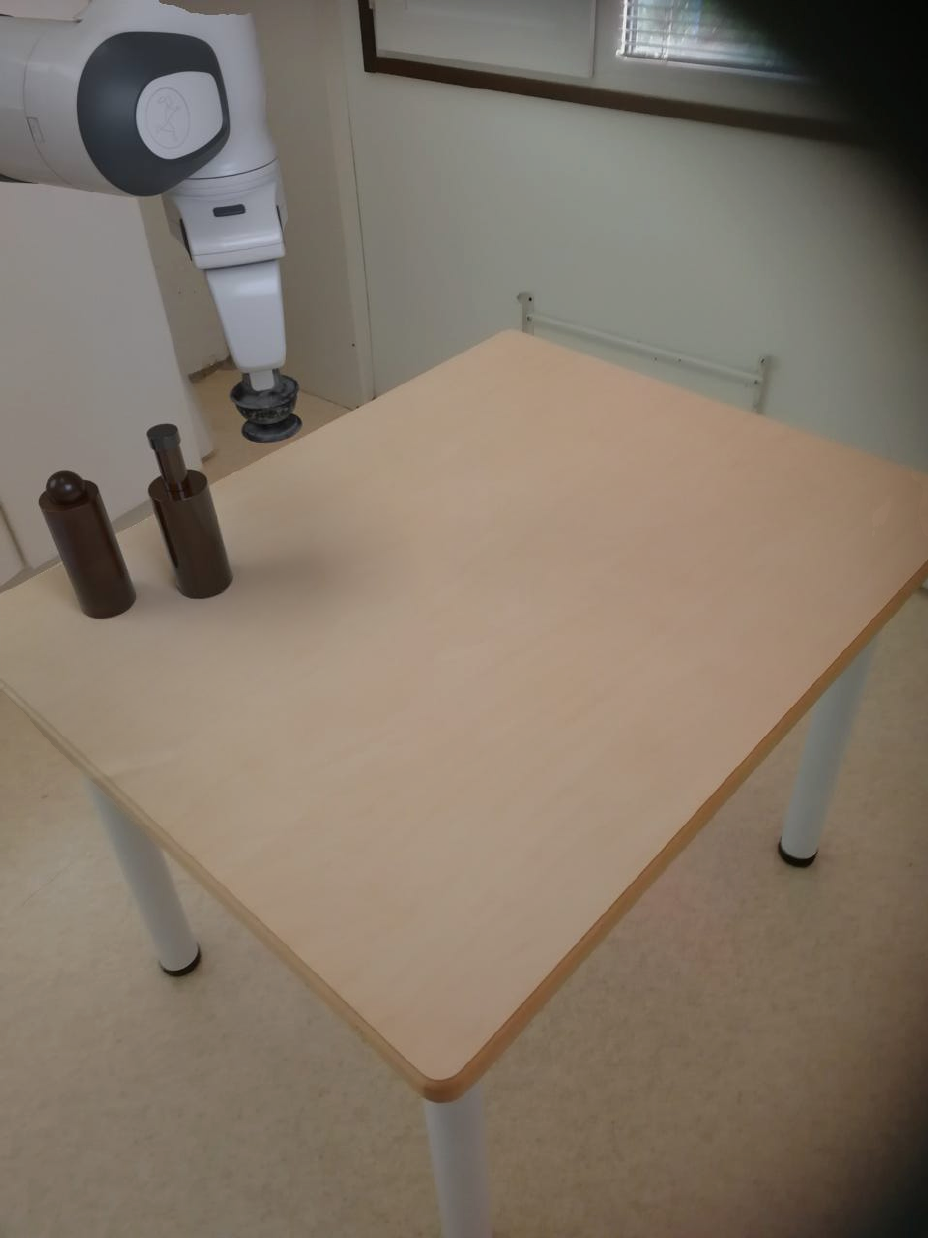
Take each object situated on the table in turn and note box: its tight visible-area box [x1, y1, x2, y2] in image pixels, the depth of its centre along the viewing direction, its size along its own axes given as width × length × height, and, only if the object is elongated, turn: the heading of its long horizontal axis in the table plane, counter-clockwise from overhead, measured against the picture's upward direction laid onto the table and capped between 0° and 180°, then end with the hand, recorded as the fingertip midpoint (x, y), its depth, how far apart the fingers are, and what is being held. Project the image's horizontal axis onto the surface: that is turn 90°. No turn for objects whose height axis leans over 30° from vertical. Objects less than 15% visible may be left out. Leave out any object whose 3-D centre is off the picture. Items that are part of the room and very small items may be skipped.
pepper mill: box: [38, 469, 137, 620], centre depth 85 cm, size 5×5×14 cm
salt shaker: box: [229, 368, 303, 444], centre depth 79 cm, size 6×6×12 cm
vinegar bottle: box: [145, 423, 234, 600], centre depth 86 cm, size 5×5×16 cm
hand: (259, 374), depth 80 cm, fingers closed on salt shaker, 3 cm apart
